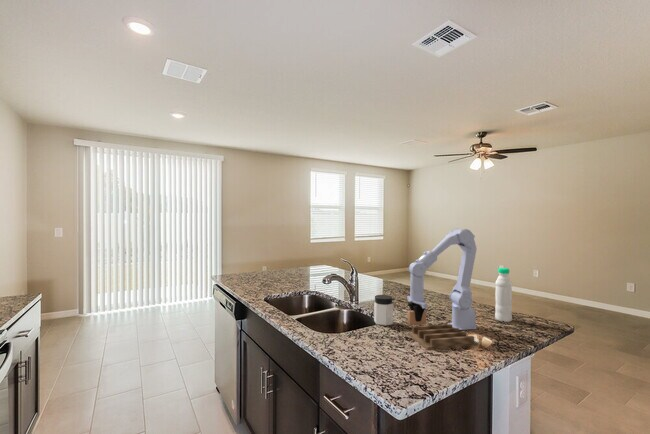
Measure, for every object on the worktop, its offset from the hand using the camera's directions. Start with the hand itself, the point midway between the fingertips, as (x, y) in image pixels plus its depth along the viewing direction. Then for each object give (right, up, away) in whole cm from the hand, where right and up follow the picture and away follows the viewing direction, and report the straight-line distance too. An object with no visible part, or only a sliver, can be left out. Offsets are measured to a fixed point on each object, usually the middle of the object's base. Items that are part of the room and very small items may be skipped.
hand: (416, 320), depth 140 cm
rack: (+6, -3, -14) cm, 16 cm away
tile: (0, -2, 0) cm, 2 cm away
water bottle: (+45, -4, +12) cm, 47 cm away
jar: (-14, -3, +6) cm, 15 cm away
